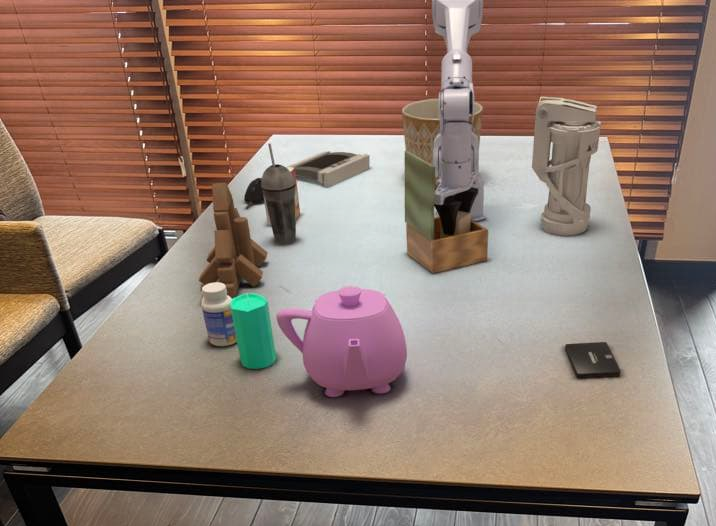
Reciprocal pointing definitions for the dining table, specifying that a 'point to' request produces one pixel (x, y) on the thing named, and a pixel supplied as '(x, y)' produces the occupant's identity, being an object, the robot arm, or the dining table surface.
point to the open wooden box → (448, 247)
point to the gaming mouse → (254, 193)
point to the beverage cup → (280, 201)
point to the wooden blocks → (231, 246)
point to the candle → (253, 330)
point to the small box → (297, 208)
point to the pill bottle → (218, 314)
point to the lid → (419, 194)
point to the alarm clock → (331, 166)
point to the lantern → (565, 161)
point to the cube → (459, 224)
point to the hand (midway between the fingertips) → (455, 230)
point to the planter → (429, 127)
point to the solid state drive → (592, 359)
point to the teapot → (349, 340)
